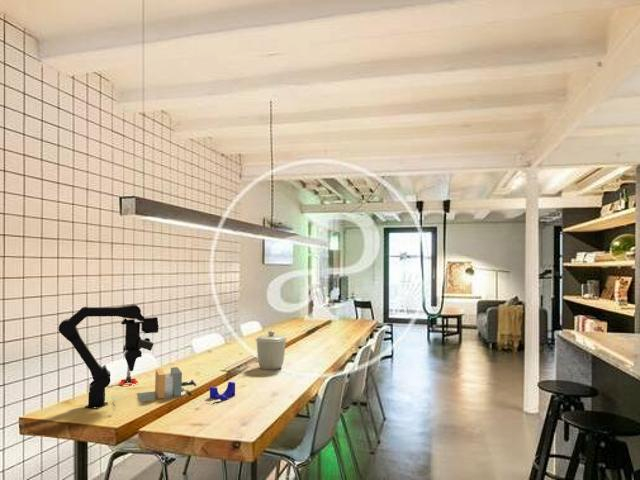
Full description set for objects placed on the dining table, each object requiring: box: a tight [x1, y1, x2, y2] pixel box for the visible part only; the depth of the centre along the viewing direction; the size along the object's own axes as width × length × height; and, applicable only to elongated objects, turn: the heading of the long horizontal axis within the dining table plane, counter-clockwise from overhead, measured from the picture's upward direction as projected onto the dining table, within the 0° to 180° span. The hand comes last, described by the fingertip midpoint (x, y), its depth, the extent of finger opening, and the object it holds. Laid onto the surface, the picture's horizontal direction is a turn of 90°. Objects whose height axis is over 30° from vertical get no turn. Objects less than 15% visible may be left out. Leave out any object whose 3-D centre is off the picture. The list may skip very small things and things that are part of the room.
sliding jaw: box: [154, 368, 166, 400], centre depth 195 cm, size 2×12×10 cm, turn 27°
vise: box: [136, 366, 197, 402], centre depth 196 cm, size 24×13×12 cm, turn 117°
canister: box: [255, 330, 288, 371], centre depth 254 cm, size 18×18×21 cm
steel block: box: [165, 372, 174, 396], centre depth 196 cm, size 4×7×8 cm, turn 27°
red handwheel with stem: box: [119, 366, 139, 386], centre depth 218 cm, size 8×13×9 cm
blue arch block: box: [209, 381, 236, 404], centre depth 195 cm, size 12×4×6 cm, turn 144°
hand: (131, 370), depth 190 cm, fingers closed
